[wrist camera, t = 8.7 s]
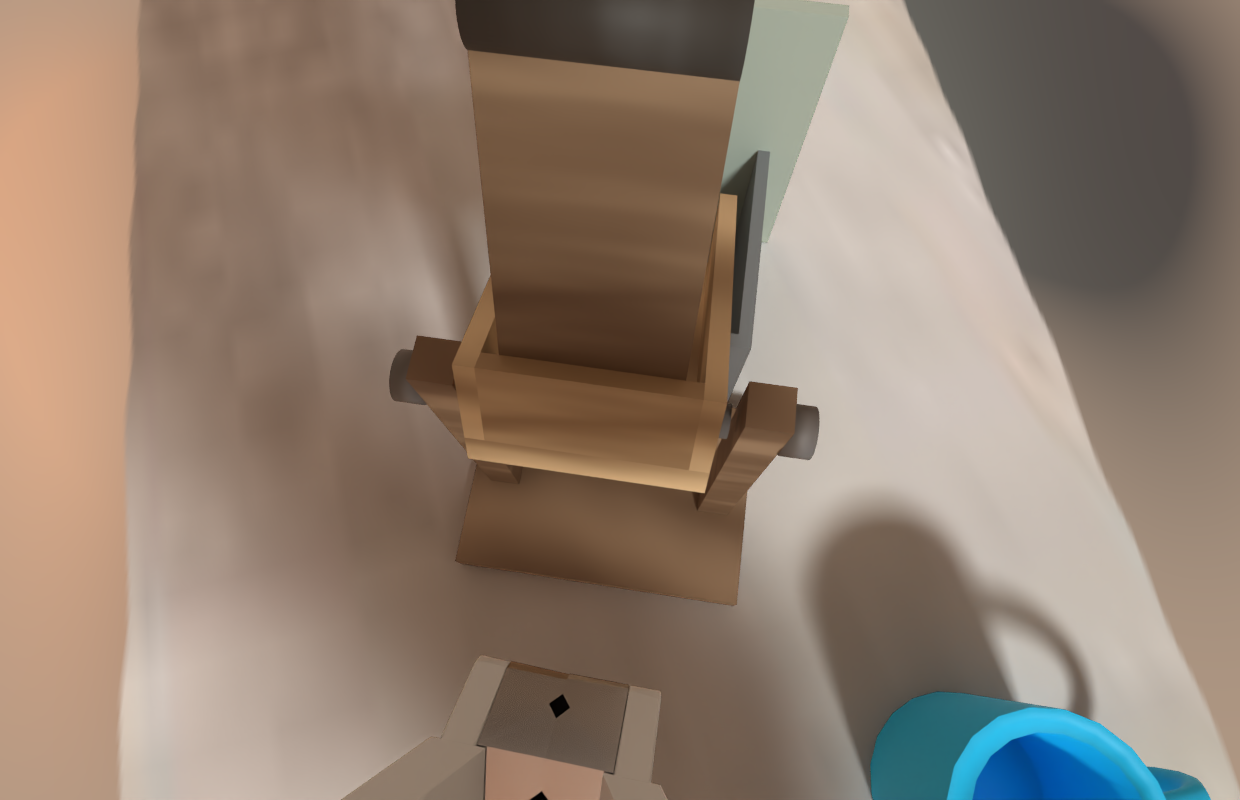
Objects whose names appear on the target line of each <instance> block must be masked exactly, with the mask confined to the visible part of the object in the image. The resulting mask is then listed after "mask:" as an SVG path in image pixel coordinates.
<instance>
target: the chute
mask: <svg viewBox="0 0 1240 800" xmlns="http://www.w3.org/2000/svg"><path fill="white" fill-rule="evenodd" d="M754 2H755V0H455V3H456V15H457V22H458V28H459V32H460V36H461V39H462V42H463V44H464V46H465V48H466V49H467V50H468V58H469V68H470V78H471V87H472V97H473V107H474V117H475V126H476V136H477V146H478V156H479V165H480V175H481V185H482V195H483V204H484V214H485V224H486V234H487V243H488V253H489V263H490V273H491V276H490V278H489V280H488V282H487V285H486V287H485V289H484V292H483V294H482V296H481V299H480V301H479V303H478V305H477V308H476V310H475V312H474V315H473V317H472V319H471V322H470V324H469V326H468V328H467V331H466V333H465V335H464V338H463V340H462V342H461V344H460V347H459V349H458V351H457V354H456V356H455V358H454V361H453V363H452V369H453V375H454V381H455V386H456V392H457V398H458V404H459V409H460V415H461V421H462V426H463V432H464V438H465V444H466V449H467V455H468V458H469V459H476V460H482V461H489V462H496V463H503V464H510V465H516V466H523V467H530V468H537V469H544V470H550V471H557V472H564V473H571V474H578V475H584V476H591V477H598V478H605V479H611V480H618V481H625V482H632V483H639V484H645V485H652V486H659V487H666V488H673V489H679V490H686V491H693V492H700V493H705V490H706V486H707V482H708V478H709V474H710V470H711V466H712V462H713V458H714V454H715V450H716V446H717V442H718V438H721V439H727V437H728V433H729V428H730V422H731V414H732V404H728V403H727V397H728V376H729V356H730V335H731V315H732V294H733V274H734V253H735V233H736V212H737V195H729V194H721V193H720V189H721V183H722V178H723V172H724V167H725V161H726V155H727V150H728V144H729V139H730V133H731V128H732V122H733V116H734V111H735V105H736V100H737V94H738V89H739V83H740V79H741V75H742V71H743V66H744V61H745V56H746V51H747V45H748V40H749V34H750V28H751V22H752V16H753V9H754ZM719 194H720V198H719ZM718 200H719V203H718ZM717 206H718V209H717ZM716 211H717V215H716ZM715 217H716V220H715ZM714 222H715V226H714ZM713 228H714V231H713ZM712 233H713V237H712ZM711 239H712V242H711ZM710 245H711V248H710ZM709 250H710V253H709ZM708 256H709V259H708ZM707 261H708V263H707Z"/></svg>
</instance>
